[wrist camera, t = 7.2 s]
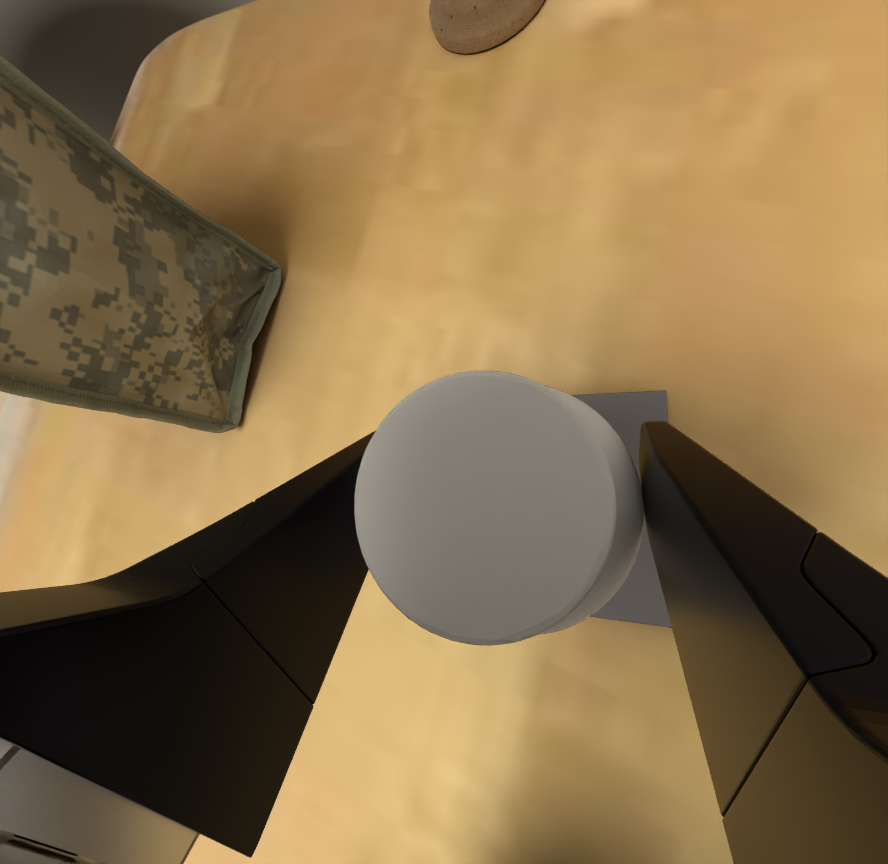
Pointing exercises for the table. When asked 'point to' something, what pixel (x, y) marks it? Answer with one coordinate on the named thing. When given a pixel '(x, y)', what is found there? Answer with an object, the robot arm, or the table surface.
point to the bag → (116, 278)
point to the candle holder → (479, 22)
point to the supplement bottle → (497, 508)
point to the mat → (642, 585)
